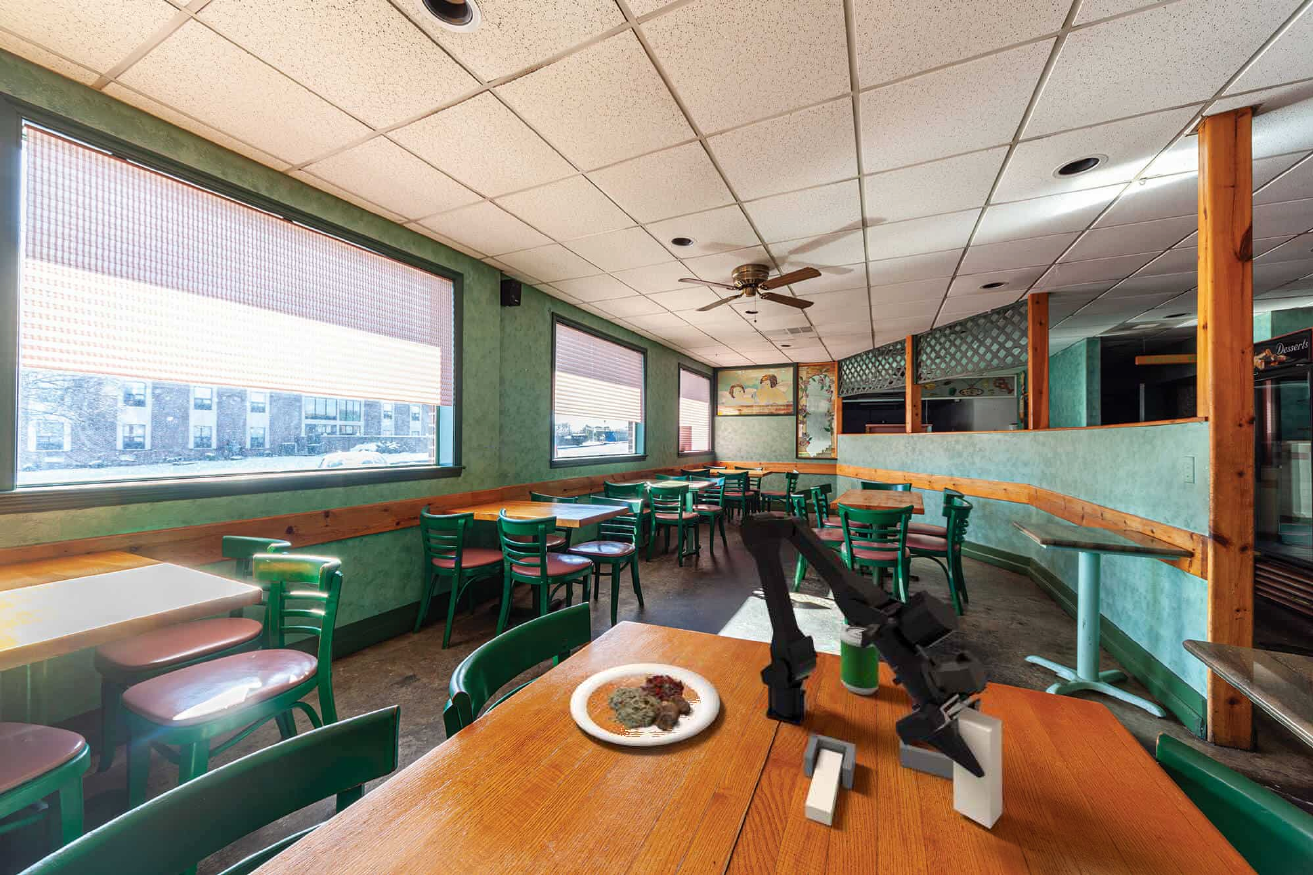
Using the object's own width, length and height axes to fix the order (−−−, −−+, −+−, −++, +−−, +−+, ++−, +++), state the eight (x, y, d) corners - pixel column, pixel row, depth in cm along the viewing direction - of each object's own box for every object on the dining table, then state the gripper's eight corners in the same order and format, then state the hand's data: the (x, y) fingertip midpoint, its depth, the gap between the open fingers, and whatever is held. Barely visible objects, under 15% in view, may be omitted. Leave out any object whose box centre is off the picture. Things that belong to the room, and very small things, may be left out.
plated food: (548, 748, 84) (548, 729, 84) (591, 668, 114) (591, 654, 114) (721, 760, 81) (720, 740, 81) (719, 674, 111) (718, 660, 111)
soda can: (882, 698, 100) (882, 640, 100) (844, 694, 101) (843, 637, 101) (874, 680, 107) (873, 626, 107) (838, 677, 108) (837, 624, 109)
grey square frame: (899, 765, 79) (899, 746, 79) (900, 732, 88) (900, 716, 88) (971, 784, 74) (971, 765, 74) (964, 748, 83) (964, 731, 83)
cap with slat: (792, 812, 69) (792, 791, 69) (811, 750, 83) (811, 732, 83) (844, 830, 66) (844, 808, 66) (855, 762, 80) (855, 744, 80)
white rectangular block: (953, 808, 69) (953, 717, 69) (966, 794, 71) (965, 706, 71) (990, 828, 65) (989, 732, 65) (1002, 812, 68) (1001, 720, 68)
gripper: (917, 653, 66) (1014, 780, 57) (971, 622, 77) (1059, 723, 68) (863, 688, 72) (943, 806, 63) (920, 654, 83) (995, 750, 75)
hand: (988, 769), depth 67 cm, fingers closed on white rectangular block, 4 cm apart
